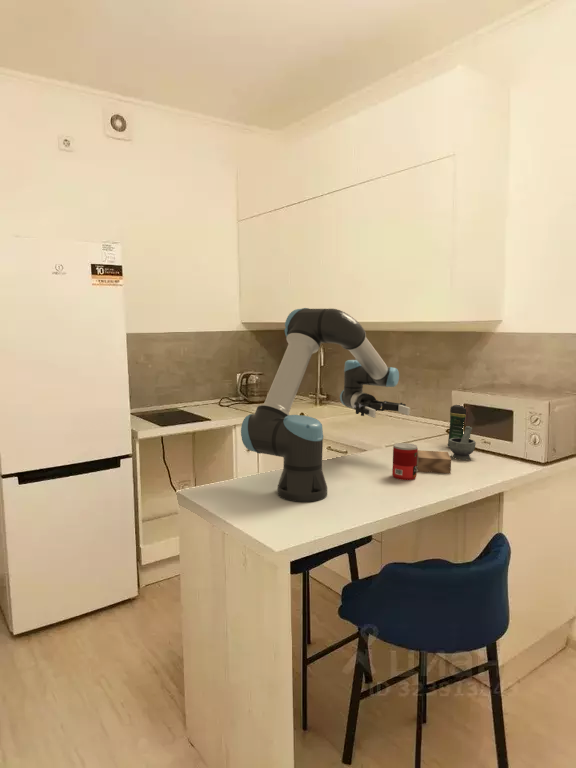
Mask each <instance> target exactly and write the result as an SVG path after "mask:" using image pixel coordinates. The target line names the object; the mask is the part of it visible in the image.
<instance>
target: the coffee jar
mask: <svg viewBox="0 0 576 768" xmlns="http://www.w3.org/2000/svg"><path fill="white" fill-rule="evenodd" d="M449 409H450V411H449V427H448V428H449V430H448V431H449V432H448V440H447V442H448V443H447V447H448V448H450V447H449V439H451V438H462V437H463V429H462V428H463V426H464V425H463V424H464V423H463V422H464V420H465V417H466V415H465V414H466V409H465V408H464V407H463V406H460V405H457V404H454V405H452V406H450V408H449Z"/></svg>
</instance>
